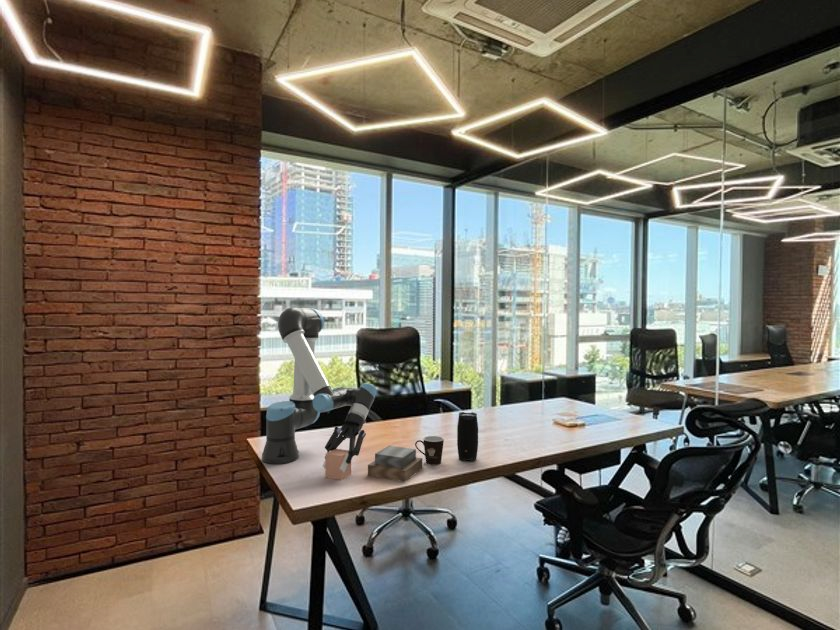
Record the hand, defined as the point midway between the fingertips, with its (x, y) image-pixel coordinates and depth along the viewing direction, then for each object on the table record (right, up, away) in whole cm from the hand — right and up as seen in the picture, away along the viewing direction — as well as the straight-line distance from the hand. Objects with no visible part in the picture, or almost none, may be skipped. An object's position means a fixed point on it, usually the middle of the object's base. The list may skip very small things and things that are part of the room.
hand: (333, 469), depth 170 cm
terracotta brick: (+1, -4, +3) cm, 5 cm away
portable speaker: (+53, -4, +24) cm, 59 cm away
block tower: (+23, -4, +8) cm, 25 cm away
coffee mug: (+37, -4, +20) cm, 43 cm away
